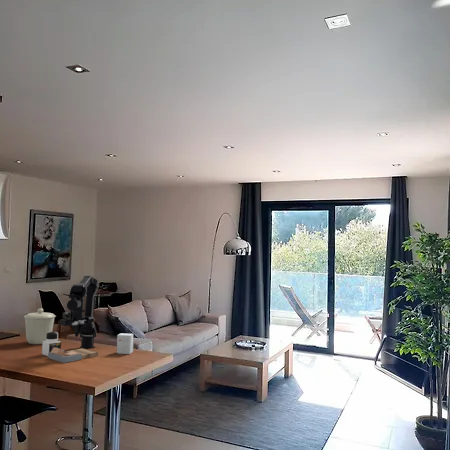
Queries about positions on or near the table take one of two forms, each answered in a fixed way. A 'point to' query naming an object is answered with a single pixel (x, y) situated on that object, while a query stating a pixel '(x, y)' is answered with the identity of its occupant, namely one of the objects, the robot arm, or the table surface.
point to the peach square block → (70, 354)
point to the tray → (63, 358)
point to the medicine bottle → (50, 343)
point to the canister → (38, 326)
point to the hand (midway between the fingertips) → (76, 336)
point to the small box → (124, 343)
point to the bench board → (84, 353)
